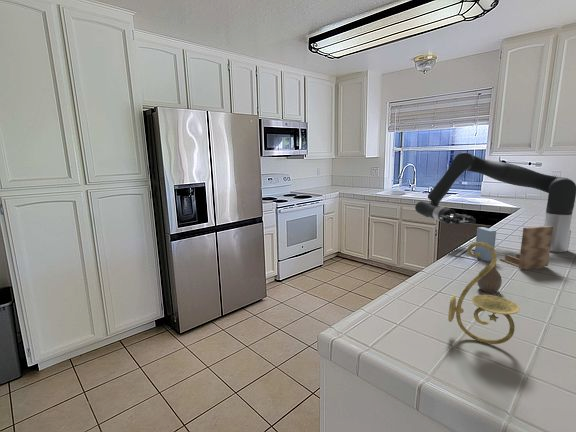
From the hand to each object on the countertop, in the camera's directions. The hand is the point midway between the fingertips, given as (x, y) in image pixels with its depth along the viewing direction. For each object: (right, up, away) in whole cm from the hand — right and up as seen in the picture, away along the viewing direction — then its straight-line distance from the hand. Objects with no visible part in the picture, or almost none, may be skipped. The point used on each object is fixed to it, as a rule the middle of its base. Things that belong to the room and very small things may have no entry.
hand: (467, 221), depth 148 cm
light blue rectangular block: (+3, -16, -8) cm, 18 cm away
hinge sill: (+13, -17, -15) cm, 26 cm away
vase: (-16, -23, -41) cm, 49 cm away
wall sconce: (-36, -28, -69) cm, 83 cm away
